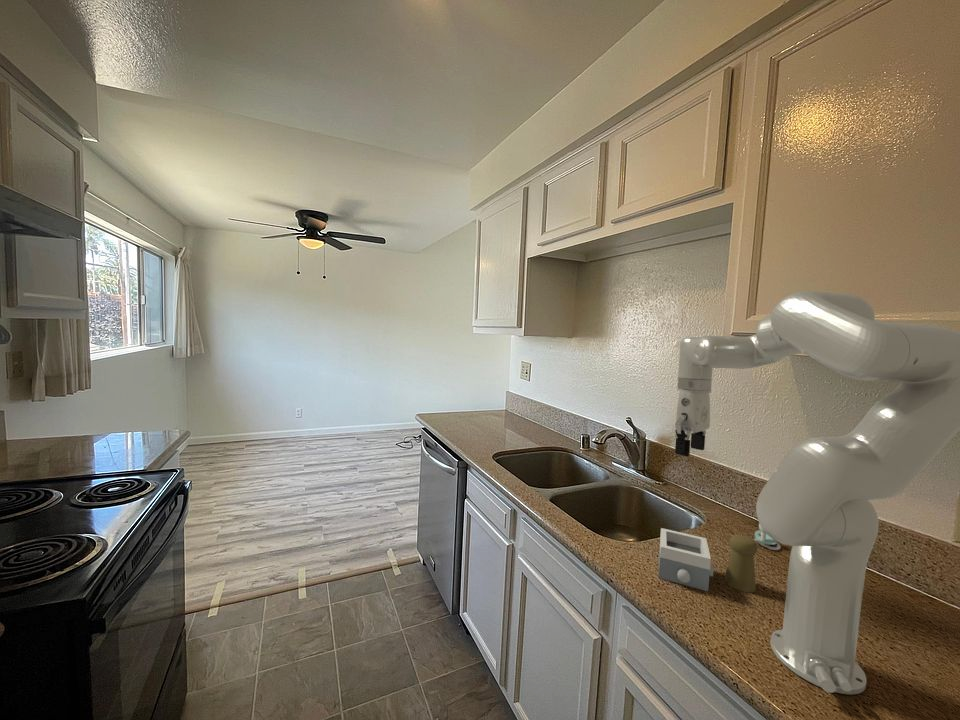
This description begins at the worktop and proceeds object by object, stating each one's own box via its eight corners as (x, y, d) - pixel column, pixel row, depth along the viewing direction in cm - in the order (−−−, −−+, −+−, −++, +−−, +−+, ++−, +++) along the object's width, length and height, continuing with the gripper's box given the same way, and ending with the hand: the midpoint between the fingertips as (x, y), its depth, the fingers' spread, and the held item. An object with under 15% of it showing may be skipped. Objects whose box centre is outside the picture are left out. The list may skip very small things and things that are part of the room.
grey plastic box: (715, 596, 84) (717, 563, 83) (658, 580, 89) (660, 549, 88) (709, 569, 94) (711, 539, 94) (658, 556, 99) (661, 528, 98)
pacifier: (780, 544, 108) (754, 535, 112) (783, 522, 108) (756, 515, 111) (780, 555, 102) (753, 546, 106) (783, 532, 102) (756, 524, 105)
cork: (755, 596, 85) (759, 547, 84) (723, 584, 88) (727, 538, 88) (756, 582, 89) (760, 537, 89) (725, 572, 93) (729, 528, 92)
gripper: (696, 389, 90) (692, 461, 91) (722, 385, 101) (718, 450, 102) (664, 385, 96) (660, 453, 96) (691, 382, 107) (687, 443, 108)
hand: (689, 451), depth 99 cm, fingers open, 9 cm apart
